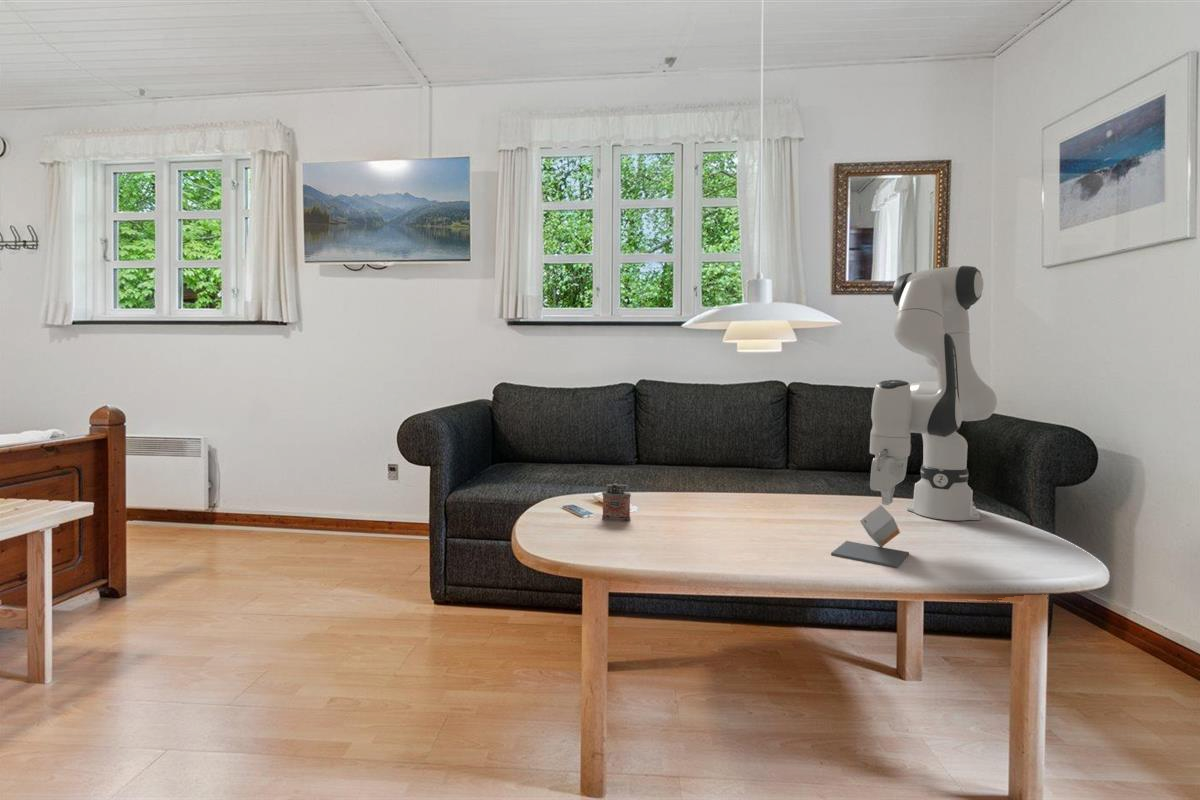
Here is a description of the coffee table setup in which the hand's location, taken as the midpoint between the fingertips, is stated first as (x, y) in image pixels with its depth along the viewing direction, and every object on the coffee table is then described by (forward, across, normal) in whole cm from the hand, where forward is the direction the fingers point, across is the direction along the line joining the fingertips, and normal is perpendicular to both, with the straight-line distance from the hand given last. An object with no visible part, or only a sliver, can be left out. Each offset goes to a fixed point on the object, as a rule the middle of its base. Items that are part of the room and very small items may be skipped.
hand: (887, 503), depth 148 cm
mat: (+10, -11, +1) cm, 15 cm away
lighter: (+11, -23, +65) cm, 69 cm away
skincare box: (+7, -2, 0) cm, 7 cm away
